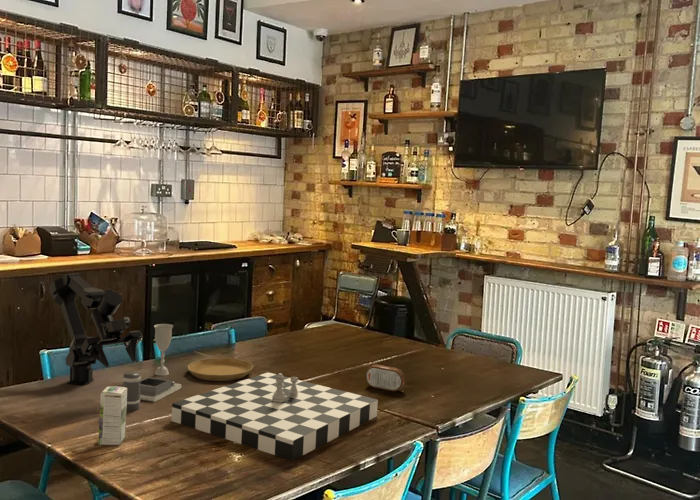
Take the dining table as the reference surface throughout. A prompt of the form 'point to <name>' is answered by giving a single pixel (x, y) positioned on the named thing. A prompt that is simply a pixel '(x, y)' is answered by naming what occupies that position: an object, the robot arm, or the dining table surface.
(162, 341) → the chalice
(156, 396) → the white base plate
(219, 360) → the plant saucer
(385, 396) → the dining table surface
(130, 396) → the grey rounded cylinder
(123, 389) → the syrup box
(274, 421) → the checkerboard
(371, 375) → the tin
